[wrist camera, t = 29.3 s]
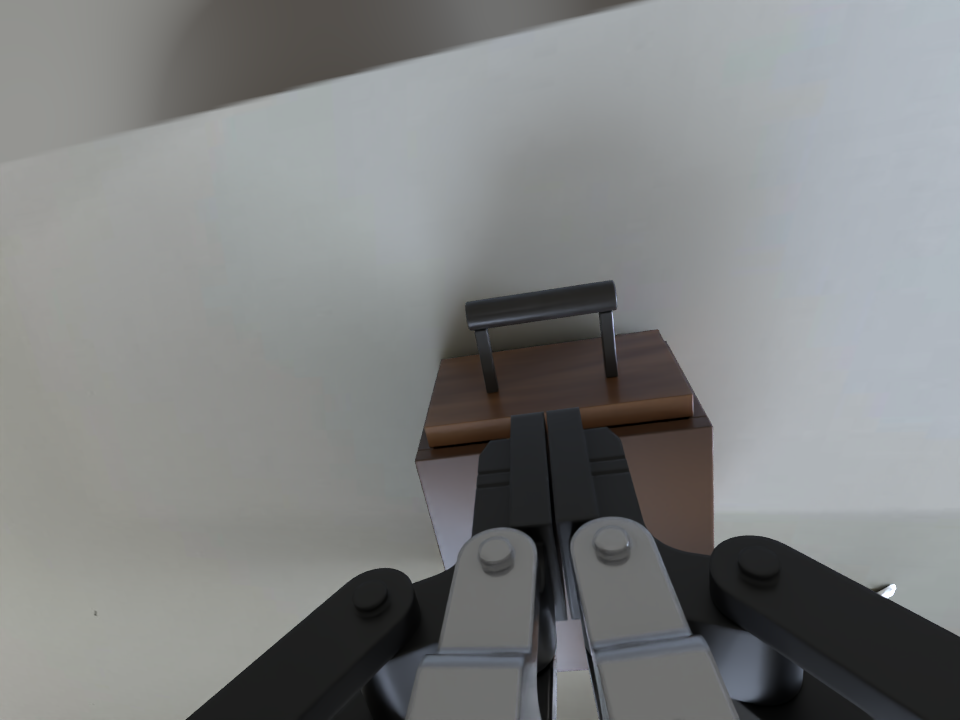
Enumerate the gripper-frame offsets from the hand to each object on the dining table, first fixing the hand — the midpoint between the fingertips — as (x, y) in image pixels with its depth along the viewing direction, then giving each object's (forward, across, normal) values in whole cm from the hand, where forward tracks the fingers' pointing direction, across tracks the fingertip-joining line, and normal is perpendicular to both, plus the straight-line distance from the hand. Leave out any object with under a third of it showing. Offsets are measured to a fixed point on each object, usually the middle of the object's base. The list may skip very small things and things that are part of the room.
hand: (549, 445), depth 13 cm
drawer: (+20, 0, +12) cm, 23 cm away
